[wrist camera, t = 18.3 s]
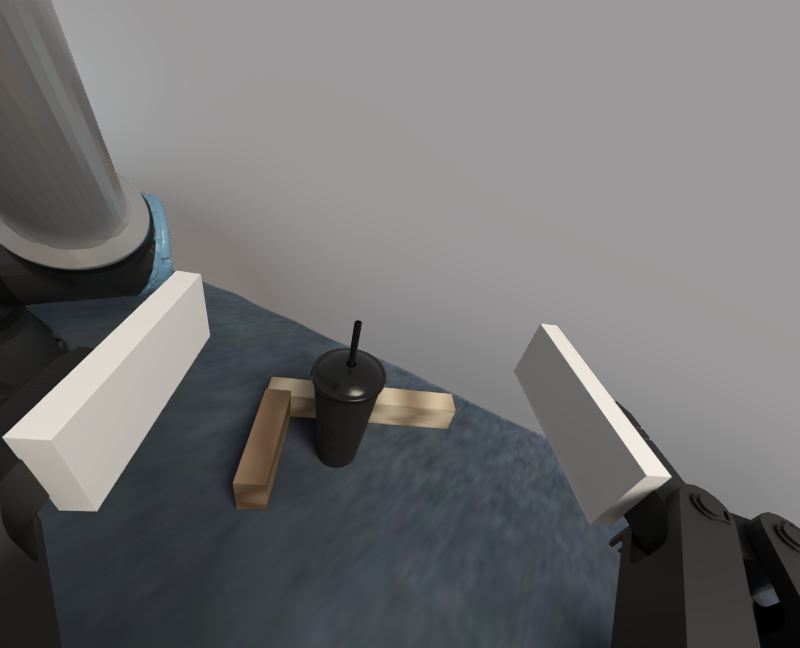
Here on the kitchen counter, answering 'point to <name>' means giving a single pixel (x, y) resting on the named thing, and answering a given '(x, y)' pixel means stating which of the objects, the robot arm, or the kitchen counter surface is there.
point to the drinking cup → (344, 399)
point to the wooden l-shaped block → (300, 402)
